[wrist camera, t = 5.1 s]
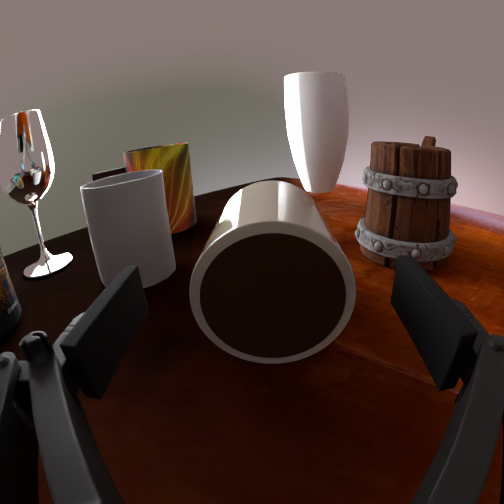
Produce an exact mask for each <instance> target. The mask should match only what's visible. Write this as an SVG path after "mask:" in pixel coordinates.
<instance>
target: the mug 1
mask: <svg viewBox="0 0 504 504" xmlns="http://www.w3.org/2000/svg"><path fill="white" fill-rule="evenodd" d="M123 155H124V164H125V167H121V168H117V169H112V170H107V171H103V172H98V173H94V174H92V177H93V181H96V180H99V179H103V178H106V177H110V176H115V175H120V174H124V173H130V172H137V171H145V170H162V174H163V182H164V190H165V198H166V205H167V212H168V219H169V225H170V232H171V234H174V233H178V232H182V231H184V230H187V229H189V228H191V227H193V226H194V225H195V224H196V222H197V220H196V212H195V203H194V195H193V186H192V176H191V166H190V156H189V146H188V143H178V144H169V145H161V146H155V147H148V148H143V149H138V150H133V151H128V152H124V153H123Z"/></svg>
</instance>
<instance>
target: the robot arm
mask: <svg viewBox="0 0 504 504" xmlns="http://www.w3.org/2000/svg"><path fill="white" fill-rule="evenodd" d="M390 303H391V304H392V306H393V308H394V310H395V311H396V313H397V315H398V316H399V318H400V320H401V321H402V323H403V325H404V327H405V328H406V330H407V332H408V334H409V336H410V337H411V339H412V341H413V343H414V344H415V346H416V348H417V350H418V352H419V354H420V356H421V357H422V359H423V361H424V363H425V365H426V367H427V369H428V371H429V373H430V374H431V376H432V378H433V380H434V382H435V384H436V386H437V388H438V390H439V391H443V390H447V389H451V388H455V386H456V384H457V382H458V379H459V377H460V378H461V379H462V381H463V383H464V384H463V386H462V388H461V390H460V392H459V393H458V395H457V397H456V399H455V401H454V402H455V403H456V405H455V408H454V410H453V413H452V416H451V419H450V421H449V424H448V426H447V429H446V431H445V434H444V436H443V439H442V441H441V443H440V446H439V448H438V450H437V452H436V455H435V457H434V459H433V461H432V463H431V465H430V467H429V469H428V471H427V473H426V475H425V477H424V479H423V481H422V483H421V485H420V487H419V489H418V491H417V492H416V494H415V496H414V498H413V499H412V501H411V503H410V504H477V503H478V500H479V498H480V495H481V492H482V489H483V487H484V484H485V481H486V478H487V475H488V472H489V469H490V465H491V462H492V458H493V455H494V451H495V447H496V443H497V439H498V435H499V431H500V426H501V422H502V432H503V462H502V482H501V493H500V503H499V504H504V338H503V337H501V336H499V335H494V334H491V335H489V333H488V332H487V331H486V330H485V329H484V327H483V326H482V325H481V324H480V322H479V321H478V320H477V319H476V318H474V315H473V314H472V313H470V311H469V310H468V308H467V307H466V306H465V305H464V304H463V303H461V302H459V301H458V300H456V299H450V298H449V296H448V295H447V294H446V293H445V292H444V291H443V290H442V288H441V287H440V286H439V285H438V284H437V283H436V282H435V281H434V279H433V278H432V277H431V276H430V275H429V274H428V273H427V272H426V271H425V270H424V269H423V267H422V266H421V265H420V264H419V263H418V262H417V261H416V260H415V259H414V258H413V257H412V256H411V255H400V256H397V264H396V271H395V278H394V284H393V290H392V296H391V302H390ZM148 312H149V309H148V305H147V301H146V297H145V293H144V289H143V285H142V281H141V277H140V272H139V268H138V266H125V267H124V268H123V269H122V270H121V271H120V272H119V273H118V275H117V276H116V277H115V278H114V279H113V280H112V281H111V283H110V284H109V285H108V286H107V287H106V288H105V289H104V291H103V292H102V293H101V294H100V295H99V296H98V298H97V299H96V300H95V301H94V302H93V304H92V305H91V306H90V307H89V308H88V310H87V311H86V312H83V313H81V314H80V315H78V316H77V317H75V318H74V319H73V320H72V322H71V323H70V324H69V326H67V328H66V329H65V330H64V332H63V333H62V334H61V335H60V336H59V338H58V339H57V340H56V341H55V343H54V344H53V345H51V343H50V341H49V339H48V337H47V335H46V333H45V332H43V331H35V332H32V333H30V334H27V335H26V336H25V337H24V338H22V340H21V341H20V343H19V347H20V349H21V351H22V353H23V355H24V357H25V359H26V360H27V361H17V359H16V357H15V355H14V353H12V352H5V353H1V354H0V504H39V500H38V445H39V449H40V454H41V458H42V462H43V466H44V470H45V474H46V478H47V481H48V485H49V488H50V491H51V495H52V498H53V501H54V504H124V502H123V500H122V498H121V497H120V495H119V493H118V491H117V489H116V487H115V485H114V483H113V481H112V479H111V476H110V474H109V472H108V470H107V468H106V466H105V463H104V461H103V459H102V457H101V454H100V452H99V449H98V447H97V445H96V442H95V440H94V437H93V434H92V432H91V429H90V426H89V424H88V421H87V418H86V415H85V412H84V409H83V407H82V403H81V400H80V398H79V396H78V395H77V392H78V390H79V388H80V387H81V389H82V390H83V392H84V394H85V396H86V397H91V398H96V399H102V397H103V395H104V393H105V391H106V389H107V387H108V385H109V383H110V381H111V379H112V377H113V375H114V373H115V372H116V370H117V368H118V366H119V364H120V362H121V360H122V358H123V357H124V355H125V353H126V351H127V349H128V347H129V346H130V344H131V342H132V340H133V338H134V337H135V335H136V333H137V331H138V329H139V328H140V326H141V324H142V322H143V321H144V319H145V317H146V315H147V314H148ZM13 402H14V403H13Z"/></svg>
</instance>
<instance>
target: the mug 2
mask: <svg viewBox="0 0 504 504" xmlns="http://www.w3.org/2000/svg"><path fill="white" fill-rule="evenodd" d="M435 143H436V139H435V137H430V136H425V138H424V140H423V142H422V146H421V147H420V146H419V144H411V143H400V142H373V143H372V144H371V162H370V166H369V167H366V168H365V170H364V175H363V176H362V179H363V184H364V185H365V186H366V187H368V196H367V205H366V212H365V217H364V218H362V219H361V220H360V221H359V223H358V226H357V230H356V231H355V236H356V238H357V239H358V241H359V243H360V249H361V251H362V253H363V255H365V256H366V257H367V258H369V259H370V260H372V261H373V262H375V263H378V264H380V265H383V266H385V265H386V264H387V263H388V264H389V266H390V268H394V269H396V264H397V256H400V255H411V256H412V257H413V258H414V259H415V260H416V261H417V262H418V263H419V264H420V265H421V266H422V267H423V269H424V270H425V271H427V270H432V269H433V268H435V269H436V268H438V267H440V266H442V265H444V264H445V262H446V261H447V259H448V256H449V255H450V254H451V252H452V250H453V247H454V243H455V242H456V238H455V236H454V235H453V233H452V231H451V230H450V229H449V225H450V199H451V197H453V196H454V195H455V194H456V188H457V187H458V183H457V181H456V179H455V178H454V177H453V176H451V151H450V150H448V149H445V148H440V147H435Z"/></svg>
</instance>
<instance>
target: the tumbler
mask: <svg viewBox="0 0 504 504" xmlns="http://www.w3.org/2000/svg"><path fill="white" fill-rule="evenodd" d="M189 296H190V304H191V308H192V312H193V314H194V317H195V320H196V321H197V323H198V325H199V327H200V328H201V330H202V331H203V332H204V334H205V335H206V336H207V337H208V338H209V339H210V340H211V341H212V342H213V343H214V344H216V345H217V346H218V347H219V348H221V349H222V350H224V351H226V352H227V353H229V354H231V355H233V356H235V357H238V358H241V359H244V360H247V361H251V362H256V363H264V364H280V363H288V362H293V361H297V360H301V359H304V358H306V357H309V356H311V355H313V354H315V353H317V352H319V351H320V350H322V349H324V348H325V347H327V346H328V345H329V344H330V343H331V342H333V341H334V340H335V339H336V338H337V337H338V336H339V334H340V333H341V332H342V331H343V329H344V328H345V326H346V325H347V323H348V321H349V319H350V317H351V314H352V312H353V309H354V305H355V300H356V281H355V277H354V273H353V270H352V267H351V265H350V263H349V261H348V259H347V257H346V255H345V253H344V252H343V250H342V248H341V246H340V244H339V242H338V241H337V239H336V237H335V235H334V234H333V232H332V230H331V228H330V226H329V225H328V223H327V221H326V219H325V218H324V216H323V214H322V213H321V211H320V209H319V207H318V206H317V204H316V203H315V201H314V200H313V199H312V198H311V197H310V196H309V195H308V194H307V193H306V192H305V191H303V190H302V189H300V188H298V187H296V186H294V185H292V184H289V183H286V182H281V181H262V182H257V183H254V184H251V185H249V186H247V187H245V188H243V189H242V190H240V191H239V192H237V193H236V194H235V195H234V196H233V197H232V198H231V199H230V201H229V202H228V203H227V205H226V206H225V208H224V210H223V212H222V214H221V216H220V217H219V219H218V221H217V223H216V225H215V227H214V229H213V231H212V233H211V235H210V237H209V239H208V241H207V243H206V245H205V247H204V249H203V251H202V253H201V255H200V257H199V259H198V261H197V263H196V265H195V268H194V270H193V272H192V276H191V280H190V288H189Z"/></svg>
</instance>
